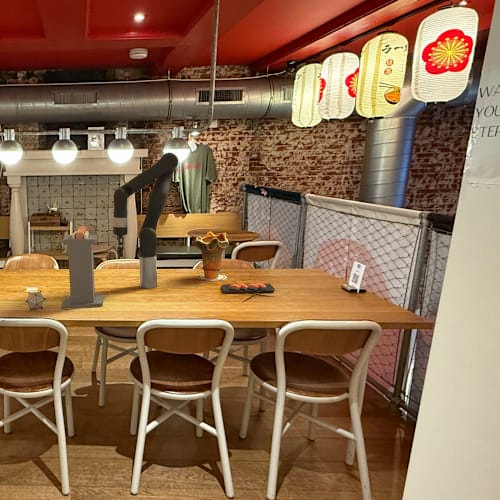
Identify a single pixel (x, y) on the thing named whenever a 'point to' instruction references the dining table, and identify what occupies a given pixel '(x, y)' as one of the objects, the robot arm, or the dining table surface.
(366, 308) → the dining table surface
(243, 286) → the sushi plate
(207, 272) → the decorative vase
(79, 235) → the bar
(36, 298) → the game die
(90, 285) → the stand
